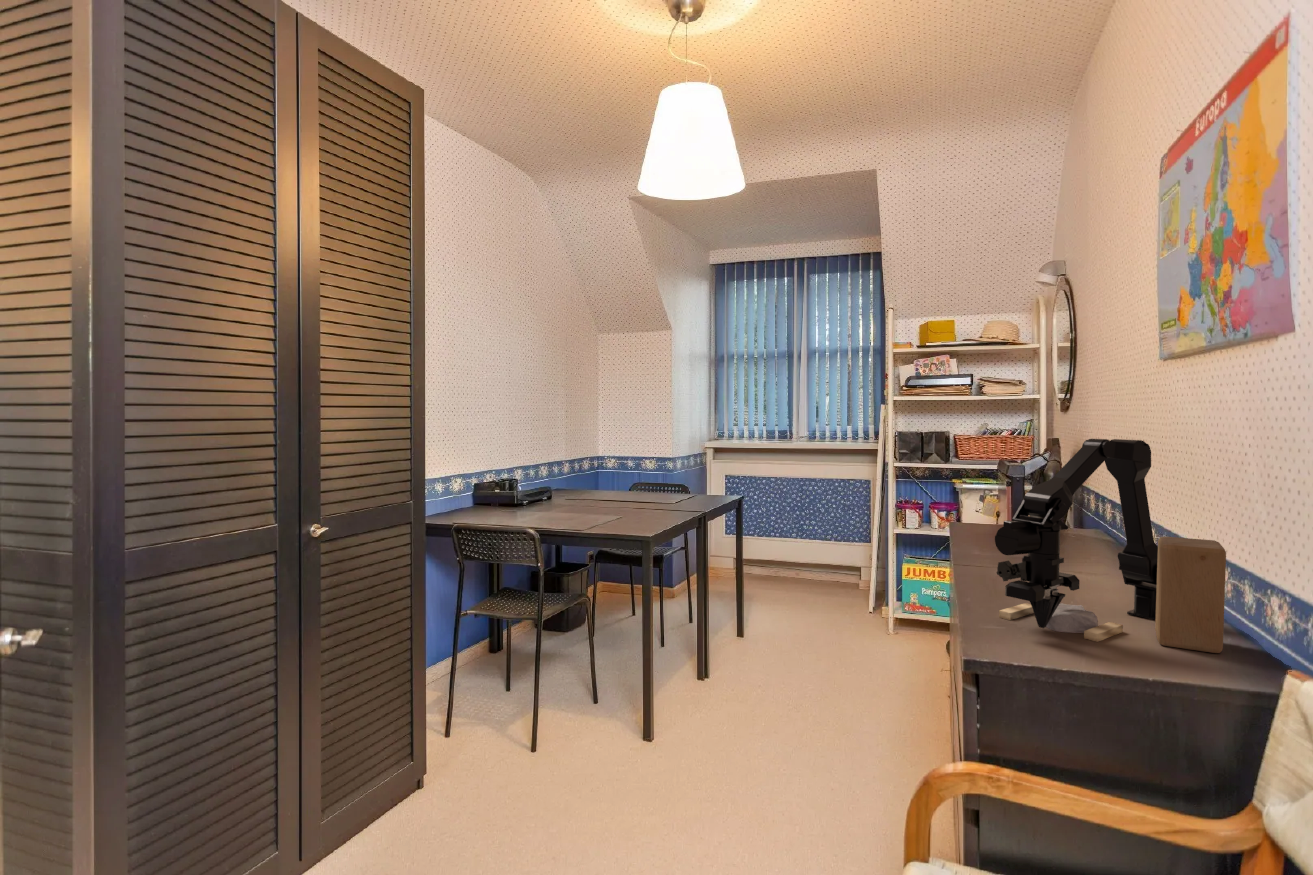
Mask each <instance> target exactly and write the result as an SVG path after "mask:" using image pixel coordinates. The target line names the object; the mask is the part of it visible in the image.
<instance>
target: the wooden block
mask: <svg viewBox="0 0 1313 875" xmlns="http://www.w3.org/2000/svg"><path fill="white" fill-rule="evenodd" d="M1157 546H1158V560H1157V590H1156V620H1155V625H1154V627H1155V628H1154V629H1155V634H1156V639H1157V642H1158V644H1159V645H1162V646H1163V647H1168V648H1169V647H1170V648H1176V649H1184V650H1190V651H1197V652H1203V653H1211V654H1220V653H1222V651H1223V650H1224V624H1225V598H1226V573H1227V572H1226V571H1227V570H1226V568H1227V567H1226V566H1227V552H1226V549H1225V547H1223V545H1222V544H1221V543H1220V542H1219V541H1217V540H1215V539H1214V540H1213V539H1201V538H1189V537H1188V538H1187V537H1177V536H1161V537H1159V539H1158V540H1157Z"/></svg>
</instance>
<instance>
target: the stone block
mask: <svg viewBox="0 0 1313 875" xmlns="http://www.w3.org/2000/svg"><path fill="white" fill-rule="evenodd" d="M1096 626H1099V620H1098V616H1097V615H1096V613H1095V612H1093V611H1090V610H1087V609H1085V608H1084V606H1083V605H1082V604H1079V605H1077V604H1069V603H1067V604H1066V603H1063V602H1060V604H1059V605H1058V607H1057V609H1056V610H1055V612H1054V614H1053V615H1052V617H1051V619H1050V621H1049V622H1048V624H1047V626H1046V627H1045V628H1047V629H1049V630H1052V631H1054V632H1062V633H1073V634H1074V633H1076V634H1077V633H1079V634H1080V633H1081V634H1084V631H1085V630H1088V629H1091V628H1094V627H1096Z"/></svg>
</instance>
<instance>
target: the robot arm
mask: <svg viewBox="0 0 1313 875" xmlns="http://www.w3.org/2000/svg"><path fill="white" fill-rule="evenodd" d="M1103 463H1105V466H1106V470H1107V471H1108V472H1109V474H1110V475H1112V477H1113V478H1114V479H1115V480H1116V483H1117V488H1118V495H1119V502H1120V508H1121V514H1122V520H1123V526H1124V527H1123V528H1124V534H1125V539H1126V545H1125V546H1124V548H1123V550H1122V551H1121V552H1118V554H1117V560H1118V562H1119V563H1118V564H1119V566H1118V570H1120V571H1121V574H1122V577H1123V578H1122V579H1123V582H1124V584H1125V585H1127V586H1128V585H1129V586H1133V587H1134V591H1133V592H1134V594H1133V609H1131V610H1127V611H1126V612H1127V615H1129V616H1130V615H1131V616H1134V617H1135V616H1136V617H1140V618H1145V619H1150V620H1153V621H1154V620H1155V621H1156V590H1157V560H1158V544H1156V543H1155V541H1154V540H1155V539H1154V535H1153V534H1154V533H1153V527H1152V520H1151V514H1150V506H1149V501H1148V494H1147V493H1148V492H1147V488H1146V481H1145V480H1146V476H1147V474H1148V473H1149V471H1150V470H1151V467H1152V450H1151V446H1150V444H1149V443H1147V442H1145V440H1141V439H1123V438H1122V439H1118V438H1114V439H1113V438H1112V439H1110V440H1109V439H1107V438H1089V439H1085V440H1084V441H1083V442H1082V445H1081V447H1080V448H1079V449H1078V451H1076V453H1075V454H1074V455H1072V457H1071V458H1070V459H1069V460H1068V461H1067V462H1066V463H1065V465H1063V466H1062V468H1060V469H1059V471H1058V472H1056V474H1054V476H1053V477H1051V478H1050V479H1049V480H1046V481H1044V482H1041V483H1040V482H1039V484H1036V485H1035V486H1033V487H1032V488H1031V489H1029V490H1028V491H1027V492H1026V493H1025V494H1024V496H1023V500H1022V501H1021V504H1020V505H1019V506H1018V508H1017V510H1016V512H1015V514H1014V515H1013V517H1012V519H1011V520H1003V526H1002V527H1000V528H999V529H998V530H997V531H996V534H995V535H994V543H995V547H996V548H997V550H998V551H999V553H1001V554H1002V555H1005V556H1016V555H1023V556H1022V558H1021V561H1020V562H1016V563H1012V562H1011V561H1010V560H1003V561H1000V562H998V563H997V567H996V570H997V571H996V574H997V576H999V577H1000V578H1001V579H1002V581H1003V582H1008V581H1010V580H1013V581H1011V582H1008V583H1007V584H1006V585H1005V587H1004V589H1005V590H1004V593H1005V594H1004V595H1005V596H1006V597H1009V598H1013V599H1019V600H1023V601H1028V602H1029V604H1031V606H1032V608H1033V611H1034V613H1033V615H1034V617H1035V621H1036V623H1037V627H1039V628H1042V629H1045V628H1047V627H1046V626H1047V624H1048V622H1049V621H1050V619H1051V617H1052V615H1053V614H1054V612H1055V610H1056V609H1057V607H1058V605H1059V604H1060V603H1062V601H1063V600H1064V598H1065V597H1066V594H1065V593H1061V592H1059V589H1058V587H1066V588H1069V590H1070V591H1076V590H1080V579H1079V577H1077V576H1076V574H1070V573H1066V572H1061V571H1060V565H1061V564H1063V563H1064V562H1065V560H1064V559H1065V557H1061V555H1060V554H1061V551H1060V550H1061V531H1064V530H1068V529H1069V525H1067V523H1065V522H1064V521H1063V520H1062V519H1063V518H1064V517H1065V515H1067V513H1068V512H1069V510H1070V509H1071V507H1072V505H1073V498H1074V497H1073V496H1074V494H1075V493H1076V492H1077V491H1078V490H1079V488H1081V486H1082V485H1084V483H1086V481H1087V480H1088V479H1089V478H1090V477H1091V476H1092V475H1093V474H1094V473H1095V472H1096V471H1097V469H1099V467H1100V466H1101V465H1103ZM1015 579H1018V580H1015Z"/></svg>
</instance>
